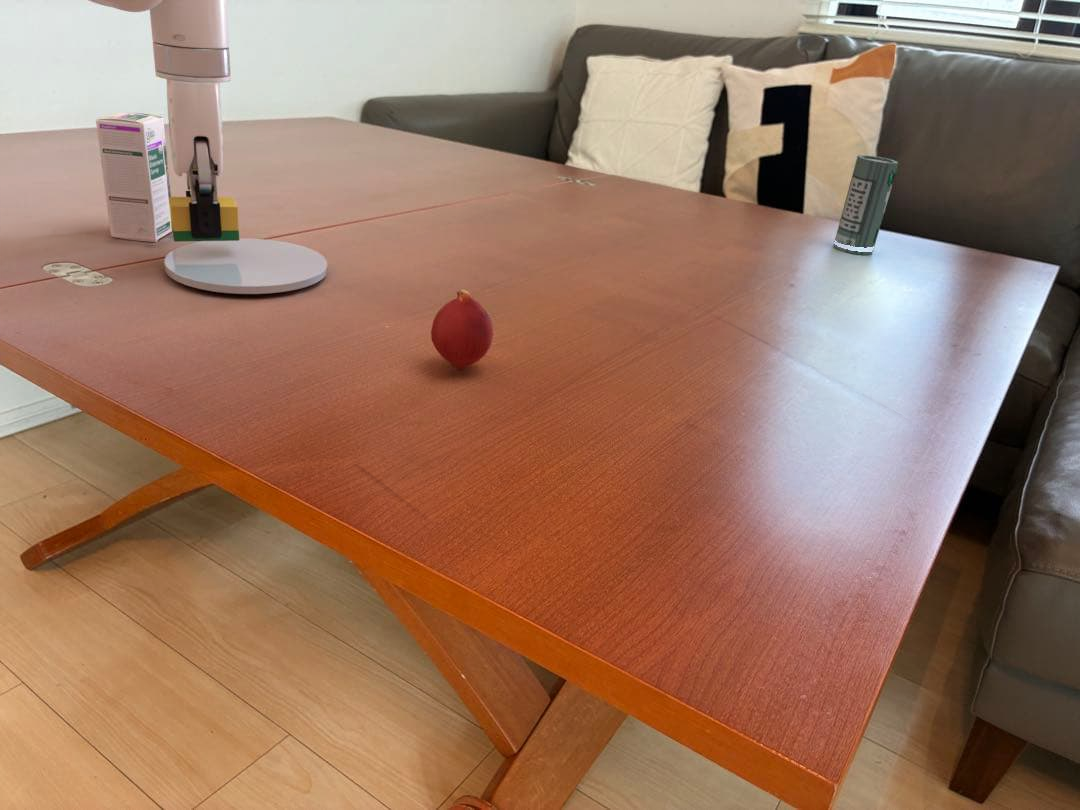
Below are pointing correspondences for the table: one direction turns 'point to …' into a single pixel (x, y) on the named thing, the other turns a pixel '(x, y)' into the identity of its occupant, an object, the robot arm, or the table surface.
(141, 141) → the syrup box
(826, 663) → the table surface
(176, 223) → the sponge
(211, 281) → the plate
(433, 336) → the onion
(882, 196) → the can
